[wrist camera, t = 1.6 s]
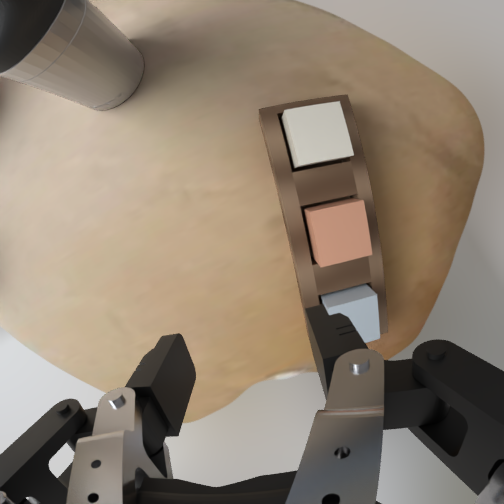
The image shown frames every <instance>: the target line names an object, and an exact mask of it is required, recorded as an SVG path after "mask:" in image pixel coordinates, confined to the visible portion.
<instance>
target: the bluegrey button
mask: <svg viewBox="0 0 504 504" xmlns="http://www.w3.org/2000/svg"><path fill="white" fill-rule="evenodd" d="M321 301H322V304H324V306H325V308H326V310H327V312H328V314H329V315H332V314H336V313H341V314H343V315H345V316H347V317H349V319H350V320H351V322H352V323H353V325H354V326H355V328H356V330H357V331H358V333H359V334H360V336H361V337H362V339H363V341H364V342H365V343H367V342H370V341H373V340H376V339H380V327H379V312H378V300H377V294H376V293H375V292H374V291H373V290H372V289H371V288H370V287H369V286H368V285H367V284H366V283H364V284H361V285H357V286H353V287H349V288H346V289H342V290H338V291H334V292H330V293H326V294H322V295H321Z"/></svg>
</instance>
